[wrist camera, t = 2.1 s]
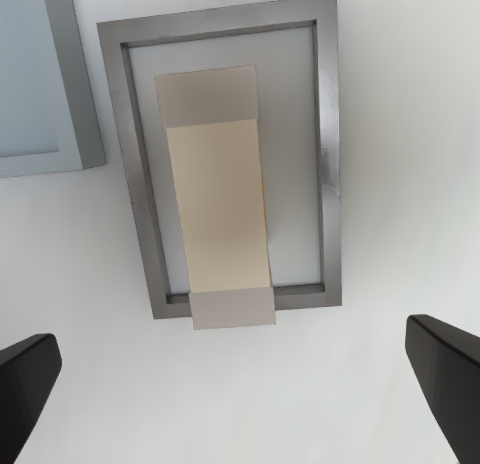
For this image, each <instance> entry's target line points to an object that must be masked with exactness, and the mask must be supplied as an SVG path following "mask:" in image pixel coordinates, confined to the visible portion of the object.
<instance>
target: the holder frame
mask: <svg viewBox="0 0 480 464" xmlns="http://www.w3.org/2000/svg"><path fill="white" fill-rule="evenodd" d="M306 26H313V49H314V78H315V107H316V136H317V166H318V195H319V224H320V253H321V283H322V284H316V285H303V286H290V287H277V288H273V294H274V307H275V311H276V310H290V309H303V308H317V307H331V306H342V282H341V219H340V157H339V94H338V31H337V0H278V1H270V2H262V3H254V4H246V5H238V6H230V7H222V8H214V9H206V10H198V11H190V12H182V13H174V14H166V15H157V16H149V17H141V18H133V19H125V20H117V21H109V22H101V23H97V28H98V33H99V39H100V44H101V49H102V54H103V59H104V64H105V70H106V75H107V80H108V85H109V90H110V95H111V100H112V106H113V111H114V116H115V121H116V126H117V131H118V137H119V142H120V147H121V152H122V157H123V162H124V167H125V173H126V178H127V183H128V188H129V193H130V198H131V204H132V209H133V214H134V219H135V224H136V229H137V234H138V240H139V245H140V250H141V255H142V260H143V265H144V271H145V276H146V281H147V286H148V291H149V296H150V301H151V307H152V312H153V317H154V319H166V318H180V317H192V313H191V306H190V300H189V294H185V295H172V296H171V294H170V288H169V282H168V276H167V271H166V265H165V259H164V253H163V248H162V242H161V236H160V230H159V225H158V219H157V213H156V207H155V202H154V196H153V190H152V184H151V179H150V173H149V167H148V161H147V156H146V150H145V144H144V138H143V133H142V127H141V121H140V116H139V110H138V104H137V98H136V93H135V87H134V81H133V75H132V70H131V64H130V58H129V52H128V48H130V47H138V46H146V45H155V44H163V43H172V42H180V41H188V40H197V39H205V38H214V37H222V36H230V35H239V34H247V33H256V32H264V31H272V30H281V29H289V28H298V27H306Z"/></svg>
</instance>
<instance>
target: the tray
mask: <svg viewBox="0 0 480 464" xmlns="http://www.w3.org/2000/svg"><path fill="white" fill-rule="evenodd" d="M102 164H106V160H105V155H104V150H103V146H102V141H101V136H100V131H99V127H98V122H97V117H96V112H95V107H94V103H93V98H92V93H91V88H90V83H89V79H88V74H87V69H86V64H85V59H84V55H83V50H82V45H81V40H80V35H79V31H78V26H77V21H76V16H75V11H74V7H73V2H72V0H0V178H4V177H14V176H24V175H34V174H44V173H54V172H64V171H74V170H83V169H87V168H91V167H95V166H99V165H102Z"/></svg>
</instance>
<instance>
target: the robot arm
mask: <svg viewBox="0 0 480 464" xmlns="http://www.w3.org/2000/svg"><path fill="white" fill-rule="evenodd" d="M405 349H406V353H407V356H408V358H409V361H410V363H411V365H412V368H413V370H414V372H415V375H416V377H417V379H418V382H419V384H420V386H421V389H422V391H423V394H424V396H425V398H426V401H427V403H428V405H429V407H430V409H431V412H432V414H433V415H434V417H435V419H436V421H437V423H438V425H439V427H440V428H441V430H442V432H443V434H444V436H445V437H446V439H447V441H448V443H449V445H450V446H451V448H452V450H453V452H454V454H455V455H456V457H457V459H458V461H459V463H460V464H480V337H477V336H475V335H473V334H470V333H468V332H466V331H463V330H461V329H459V328H457V327H454V326H452V325H450V324H447V323H445V322H443V321H440V320H438V319H436V318H434V317H431V316H429V315H426V314H419V315H410V316H409V317H408V318H407V323H406V338H405ZM61 367H62V358H61V355H60V351H59V348H58V344H57V340H56V337H55V336H54V335H53V334H51V333H46V334H36V335H33V336H31V337H29V338H27V339H25V340H22V341H20V342H18V343H16V344H14V345H12V346H9V347H7V348H5V349H3V350H1V351H0V464H14V462H15V461H16V459H17V457H18V455H19V454H20V452H21V450H22V448H23V447H24V445H25V443H26V441H27V440H28V438H29V436H30V434H31V432H32V431H33V429H34V427H35V425H36V423H37V421H38V419H39V417H40V415H41V412H42V410H43V408H44V406H45V404H46V401H47V399H48V397H49V395H50V393H51V390H52V388H53V386H54V384H55V382H56V379H57V377H58V375H59V373H60V370H61Z"/></svg>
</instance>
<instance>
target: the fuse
mask: <svg viewBox="0 0 480 464" xmlns="http://www.w3.org/2000/svg"><path fill="white" fill-rule="evenodd" d="M154 78H155V84H156V90H157V97H158V103H159V109H160V116H161V122H162V128H163V129H166V135H167V141H168V148H169V154H170V161H171V167H172V173H173V180H174V186H175V193H176V199H177V206H178V212H179V219H180V225H181V231H182V238H183V244H184V251H185V257H186V264H187V270H188V277H189V283H190V290H189V293H188V294H189V300H190V306H191V313H192V319H193V325H194V330H200V329H214V328H228V327H242V326H256V325H271V324H276V320H275V307H274V294H273V284H272V276H271V269H270V262H269V255H268V247H267V240H266V233H267V231H266V218H265V206H264V193H263V181H262V170H261V167H260V155H259V143H258V131H257V120H258V119H260V117H259V104H258V92H257V79H256V66H255V65H247V66H239V67H230V68H221V69H212V70H204V71H195V72H186V73H177V74H168V75H160V76H154Z"/></svg>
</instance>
